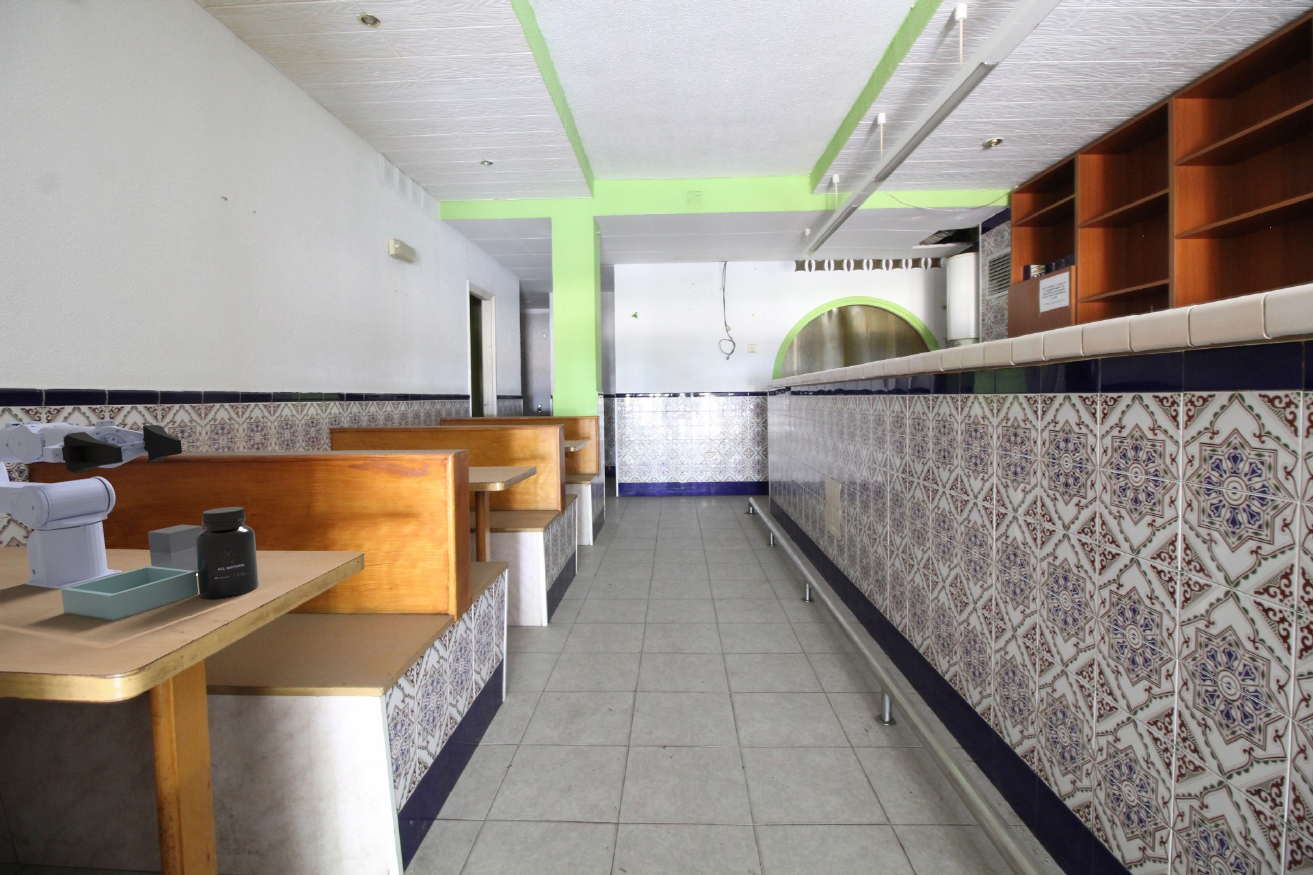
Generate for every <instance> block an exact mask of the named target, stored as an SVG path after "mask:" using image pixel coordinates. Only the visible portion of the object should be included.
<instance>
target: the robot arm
mask: <svg viewBox="0 0 1313 875" xmlns="http://www.w3.org/2000/svg"><path fill="white" fill-rule="evenodd" d="M182 448H183V447H182V440H181V439H179V438H177V437H175V436H174V435H173V436H172V435H171V434H169V433H168V432H167V431H166V430H165V428H164V426H162V425H158V424H148V425H143V426H142V432H141V431H137V430H133V429H127V428H124V427H123V428H122V427H118V426H117V425H116V422H115V420H114V419H98V420H97V421H95V426H92V425H91V426H90V425H79V424H77V425H76V424H75V423H73V422H69V421H61V422H47V423H45V422H44V423H41V421H27V422H26V423H22V422H8V423H7V422H6V423H5V424H4V426H3V427H0V514H11V516H12V518H13V520H14V521H20V522H21V523H22V524H24V525H26V526H27V527H29V528H30V529H31V530H33V531H32V532H30V534H29V536H28V537H27V540H26V551H27V552H26V553H27V559H28V560H27V561H28V568H29V575H30V576H29V577H30V580H26V581H23V582H22V584H23V585H27V586H34V587H35V586H36V587H42V588H49V589H55V590H56V589H57V590H59V589H60V590H61V589H63V588H67V587H71V586H75V585H78V584H82V583H86V582H90V581H94V580H97V579H101V578H105V577H109V576H113V575H116V574H120V573H123V571H122V570H120V569H109V568H108V562H107V560H108V559H107V552H106V546H105V537H104V528H103V527H104V526H103V520H107V519H108V515H109V514H110V513H111V512H112V511H113V508H114V506H115V504H116V493H115V490H114V487H113V486H112V484H111V482H109V481H108V479H106V478H104V477H102V476H97V475H96V476H91V477H89V478H84V479H74V480H68V481H61V482H54V483H46V482H27V481H10V477H9V473H8V470H7V467H6V464H5V463H7V464H15V463H16V464H17V463H23V464H24V465H28V464H32V463H36V462H46V463H64V464H65V469H66V471H67V472H68V473H71V474H83V473H89V472H91V471H93V470H94V469H96V468H102V469H103V468H104V469H112V468H117V467H119V466H122V465H123V464H125V463H128V462H130V461H132V460H134V459H136V458H138V457H140V456H143V455H145V454H147V457H148V458H147V459H148V463H154V462H155V463H156V462H160V461H163V460H165V459H167V458H168V457H169V456H176V455H181V454H182V453H183V449H182Z"/></svg>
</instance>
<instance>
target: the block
mask: <svg viewBox="0 0 1313 875" xmlns="http://www.w3.org/2000/svg"><path fill="white" fill-rule="evenodd" d="M203 530H204V526H203V525H193V524H179V525H173V526H170V527H164V528H159V529H155V530H150V531H147V537H148V546H149V557H150V562H151V563H150V566H154V567H163V568H172V569H181V570H190V571H196V574H198V572H197V560H196V548H195V539H196V537H197V535H198V534H199V533H200V532H202V531H203Z"/></svg>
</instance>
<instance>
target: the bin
mask: <svg viewBox="0 0 1313 875" xmlns="http://www.w3.org/2000/svg"><path fill="white" fill-rule="evenodd" d="M60 591H61V597H62V598H61V599H62V606H63V614H66V615H71V616H78V617H85V618H90V619H97V620H102V621H103V620H104V621H110V622H115V621H118V620H119V621H120V620H121V619H126V618H128V617H131V616H134V615H138V614H140V613H144V612H146V611H149V610H152V609H156V608H159V607H162V606H164V605H168V604H171V603H175V602H178V601H180V600H184V599H187V598H189V597H193V596H196V595H199V584H198V575H196V571H190V570H181V569H172V568H163V567H154V566H151V565H147V566H144V567H141V568H136V569H131V570H128V571H125V572H122V573H119V574H115V575H112V576H108V577H104V578H100V579H96V580H93V581H89V582H85V583H81V584H77V585H74V586H70V587H66V588H62V589H60Z"/></svg>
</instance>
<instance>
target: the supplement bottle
mask: <svg viewBox="0 0 1313 875" xmlns="http://www.w3.org/2000/svg"><path fill="white" fill-rule="evenodd" d="M201 516H202V521H201V522H202V523H201V526H203V527H204V529H203V531H202V532H200V533H199V534H198V535H197V537H196V539H195V548H196V560H197V572H198V575H197V585H198V595H199V597H200V599H203V600H206V601H208V600H209V601H210V600H211V601H212V600H224V599H229V598H235V597H239V596H243V595H245V594H248V593H252V592H254V591H255V590H257V589H258V587H259V574H258V573H259V572H258V560H257V545H256V535H255V534H256V533H255V530H254V529H253V527H250V526H249V525H247V524H245V522H246V519H247V518H246V514H245V508H244V507H243V506H242V507H241V506H231V507H220V508H219V507H218V508H213V509H208V510H205V511H203V512H202V513H201Z"/></svg>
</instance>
